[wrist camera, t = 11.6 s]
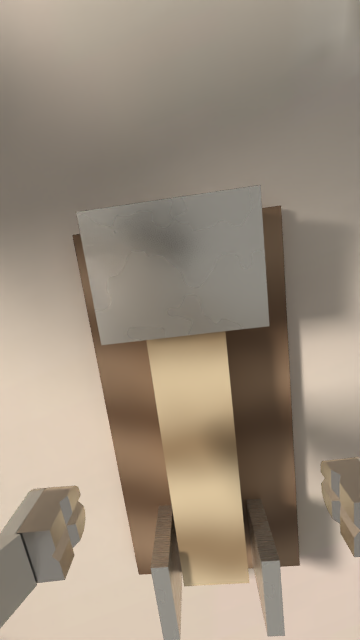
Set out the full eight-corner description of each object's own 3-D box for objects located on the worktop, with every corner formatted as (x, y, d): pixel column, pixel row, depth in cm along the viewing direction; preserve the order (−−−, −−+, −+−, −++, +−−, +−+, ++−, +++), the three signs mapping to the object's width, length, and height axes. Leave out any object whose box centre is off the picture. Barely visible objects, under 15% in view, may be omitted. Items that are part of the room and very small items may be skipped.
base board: (79, 237, 17) (72, 235, 16) (275, 209, 16) (280, 205, 15) (141, 560, 21) (138, 574, 20) (294, 551, 21) (299, 565, 20)
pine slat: (144, 259, 16) (133, 257, 13) (212, 250, 15) (217, 246, 12) (185, 537, 19) (184, 586, 17) (240, 534, 19) (249, 582, 16)
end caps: (112, 229, 15) (76, 212, 11) (237, 211, 15) (260, 185, 10) (169, 567, 20) (162, 664, 15) (266, 561, 20) (291, 660, 15)
